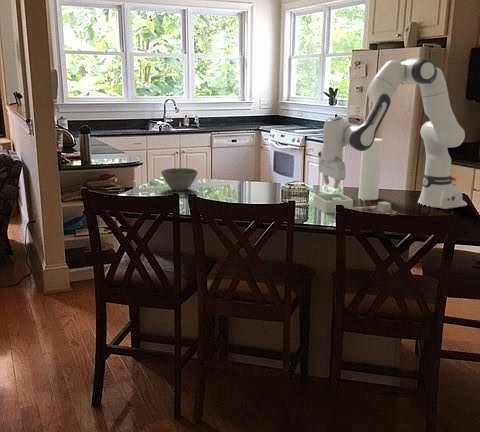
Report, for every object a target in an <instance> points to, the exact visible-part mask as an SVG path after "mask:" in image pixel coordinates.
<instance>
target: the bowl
mask: <svg viewBox="0 0 480 432" xmlns="http://www.w3.org/2000/svg"><path fill="white" fill-rule="evenodd" d="M160 173H161V175H162V177H163V180H164V182H165V183H166V184H167V186H168V187H169V188H170V189H171V190H173V191H177V192H182V191H186V190H187V189H189V188H190V187H191V186H192V185H193V183H194V181H195V180H196V178H197V175H198V173H199V172H198V170H196V169H194V168H186V167H184V168H183V167H181V168H177V167H176V168H174V167H173V168H167V169H163V170H161V172H160Z"/></svg>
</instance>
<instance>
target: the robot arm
mask: <svg viewBox="0 0 480 432" xmlns="http://www.w3.org/2000/svg"><path fill="white" fill-rule="evenodd" d="M400 85H418V86H419V89H420V94H421V99H422V100H421V101H422V105H423V110H424V113H425V114H426V115H425V116H427V117H428V121H425V123H423V124H422V125H421V128H420V132H419V133H420V137H421V138H422V140H423V145H424V149H425V150H424V151H425V164H424V165H425V166H424V173H423V176H422V177H423V178H422V187H421V192H420V195H419V198H418V201H417V204H419V203H420V204H419V205H421V204H422V205H421V206H424V205H426V207H429V206H430V207H429V208H438V209H439V208H440V209H444V210H447V209H454V208H459V207H466V206H468V203H467V202H466V201H465V200H463V193H462V190H461V189H459V188H458V187H456V185H454V183H452V182H456V181H457V179H458V177H456V176H451V175H450V174H451V165H452V157H451V156H450V154H449V150H448V148H456V147H459V146H461V144H462V143H463V142H464V140H465V137H466V135H465V134H466V133H465V129H464V128H463V127H462V126H461V125H460V124H459V122H458V120H457V118H456V116H455V113H454V111H453V108H452V107H451V102H450V97H449V91H448V86H447V82H446V78H445V76H444V73H443V71H442V69H441V68H439V67H437V66H436V64H435V62H434V61H432V60H431V59H430V58H427V57H412V58H408V59H402V60H395V59H390V60H389V61H386V62H385V64H384V65H382V67H381V68H380V69H379V70H378V71H377V73H376V74H375V75H374V77H373V78H372V80H371V82H370V83H369V85H368V88H367V91H366V94H367V97H368V99H369V101H370V102H371V103H372V107H371V109H370V112H369V113H368V115H367V117H366V119H365V120H364V122H363V123H362V124H361V125H357V124H354V123H350V122H349V121H347V120H345V119H344V118H343V117H341V116H333V117H332V116H331V117H329V118H327V119H326V120H325V121H324V124H323V128H322V129H323V131H322V141H323V144H322V150H320V151H318V152H317V157H318V171H319V173H322V177H323V180H324V181H323V183H324V185H329V184H330V179H329V177H330V178H332V179H334V184H333V189H335V190H338V189H339V185H340V183H341V181H344V180H345V179H346V164H345V162H344V161H343V159H344V158H343V156H344V155H343V154H344V147H345V146H346V147H349V148H353V149H355V150H357V151H359V152H362V151H365V150H367V149H369V148H370V147H371V146H372V144H373V142H374V139H375V138H376V134H377V132H378V130H379V128H380V126H381V124H382V123H383V120H384V118H385V117H386V114H387V112H388V110H389V108H390V106H391V102H392V98H393V96H394V95H395V93H396V92H397V90H398V88H399V87H400Z"/></svg>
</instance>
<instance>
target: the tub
mask: <svg viewBox="0 0 480 432" xmlns="http://www.w3.org/2000/svg"><path fill="white" fill-rule="evenodd" d="M333 197H340V198H341V199H342V200H339V201H331V198H333ZM312 204H313V205H312V206H313V207H315V208H316V209H318V210H319V211H321V212H323V213H324V214H333V213H335V207H336V205H337V204H339V205H343V206H344V207H345V208H348V209H353V208H354V199H352V198H351V197H349V196H346V195H344V194H342V193H341V192H337V193H336V192H335V193H334V192H333V193H318V194H313V203H312ZM335 214H336V213H335Z"/></svg>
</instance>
